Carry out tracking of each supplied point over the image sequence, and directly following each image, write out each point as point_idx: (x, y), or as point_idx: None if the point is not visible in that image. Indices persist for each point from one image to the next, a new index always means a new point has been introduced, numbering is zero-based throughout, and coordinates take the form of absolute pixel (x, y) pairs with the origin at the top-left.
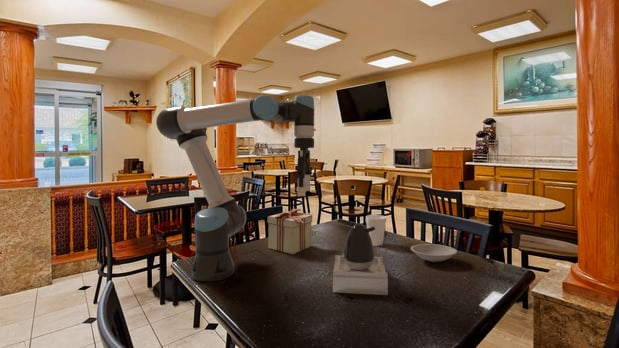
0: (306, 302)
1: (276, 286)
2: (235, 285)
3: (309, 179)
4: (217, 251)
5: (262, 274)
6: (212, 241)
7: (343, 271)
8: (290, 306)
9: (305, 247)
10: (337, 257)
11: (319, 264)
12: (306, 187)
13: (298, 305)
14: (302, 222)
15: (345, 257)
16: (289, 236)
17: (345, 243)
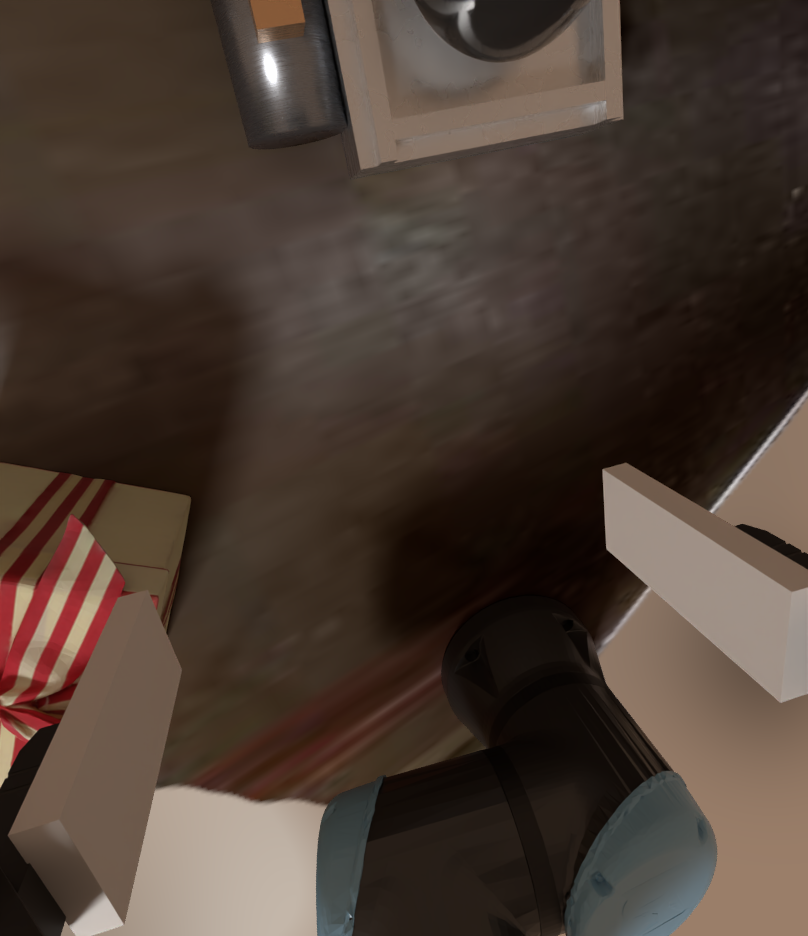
0: (676, 226)
1: (571, 395)
2: (589, 534)
3: (100, 735)
4: (605, 688)
5: (478, 501)
6: (643, 732)
7: (618, 51)
8: (707, 275)
9: (51, 474)
10: (393, 143)
11: (280, 299)
12: (155, 669)
13: (699, 249)
14: (92, 539)
15: (557, 37)
16: (170, 565)
17: (559, 12)
